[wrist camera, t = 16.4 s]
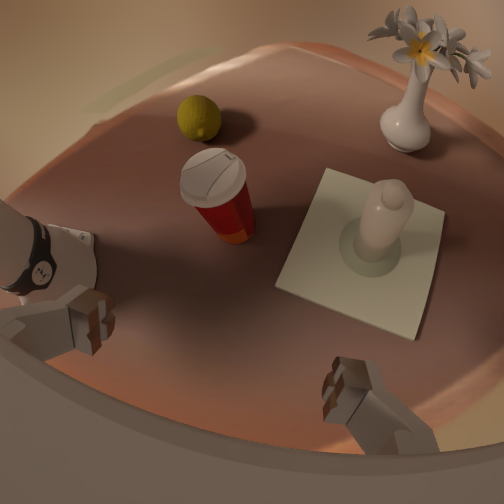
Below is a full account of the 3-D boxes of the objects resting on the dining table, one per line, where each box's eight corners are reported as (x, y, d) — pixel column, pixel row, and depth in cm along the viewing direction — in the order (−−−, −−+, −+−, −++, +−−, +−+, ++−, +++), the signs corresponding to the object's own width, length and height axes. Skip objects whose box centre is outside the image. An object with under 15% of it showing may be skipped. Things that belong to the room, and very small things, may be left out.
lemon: (229, 145, 50) (217, 113, 43) (187, 157, 51) (170, 128, 44) (222, 108, 54) (211, 78, 47) (185, 119, 55) (171, 91, 48)
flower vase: (458, 166, 41) (512, 57, 18) (366, 170, 44) (391, 32, 21) (432, 115, 46) (462, 11, 23) (347, 115, 49) (352, -7, 26)
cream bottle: (348, 254, 38) (366, 201, 25) (359, 223, 40) (378, 161, 27) (382, 268, 37) (415, 220, 24) (391, 236, 38) (423, 179, 25)
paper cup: (240, 195, 46) (216, 134, 33) (273, 227, 43) (258, 168, 30) (201, 227, 45) (163, 175, 32) (231, 262, 42) (198, 216, 29)
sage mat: (275, 287, 40) (274, 285, 39) (326, 171, 45) (326, 167, 44) (411, 340, 34) (414, 340, 33) (442, 215, 39) (445, 211, 38)
